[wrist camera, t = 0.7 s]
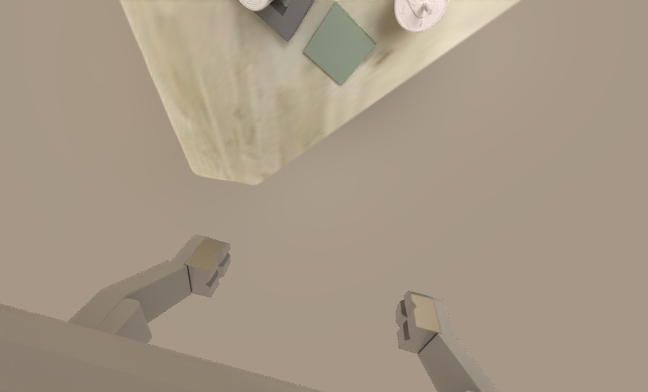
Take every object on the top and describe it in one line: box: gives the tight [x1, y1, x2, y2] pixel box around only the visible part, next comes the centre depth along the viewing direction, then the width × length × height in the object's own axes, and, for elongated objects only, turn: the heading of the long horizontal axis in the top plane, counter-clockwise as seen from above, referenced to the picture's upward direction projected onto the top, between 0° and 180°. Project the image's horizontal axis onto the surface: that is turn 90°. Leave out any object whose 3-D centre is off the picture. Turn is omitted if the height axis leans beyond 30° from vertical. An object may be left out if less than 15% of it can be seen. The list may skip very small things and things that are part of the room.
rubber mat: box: [303, 2, 376, 85], centre depth 43 cm, size 9×9×1 cm
